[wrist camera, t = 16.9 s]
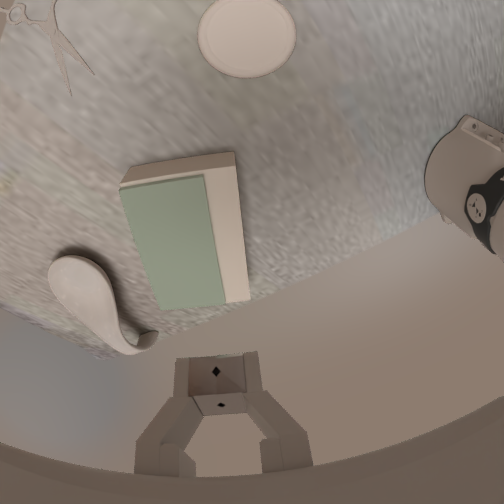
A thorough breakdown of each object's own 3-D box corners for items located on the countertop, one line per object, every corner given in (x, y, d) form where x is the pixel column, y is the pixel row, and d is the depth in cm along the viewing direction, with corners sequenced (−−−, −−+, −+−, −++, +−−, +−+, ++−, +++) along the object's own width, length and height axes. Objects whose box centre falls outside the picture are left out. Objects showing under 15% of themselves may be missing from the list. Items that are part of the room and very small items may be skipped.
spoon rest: (43, 263, 42) (26, 292, 37) (84, 231, 40) (66, 262, 34) (130, 342, 56) (124, 372, 50) (175, 324, 53) (172, 357, 48)
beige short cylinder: (203, 80, 30) (201, 83, 27) (196, 1, 24) (193, -5, 21) (292, 74, 30) (299, 77, 27) (288, -4, 24) (295, -10, 21)
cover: (203, 174, 31) (203, 177, 31) (225, 300, 43) (225, 304, 42) (120, 187, 31) (118, 190, 30) (161, 306, 43) (160, 310, 42)
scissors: (56, -45, 15) (117, 61, 26) (59, -44, 16) (120, 61, 27) (-2, 10, 17) (52, 113, 28) (1, 10, 18) (55, 111, 29)
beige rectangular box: (233, 151, 35) (235, 165, 31) (247, 276, 47) (250, 299, 43) (130, 167, 35) (119, 183, 31) (166, 285, 47) (162, 308, 43)
